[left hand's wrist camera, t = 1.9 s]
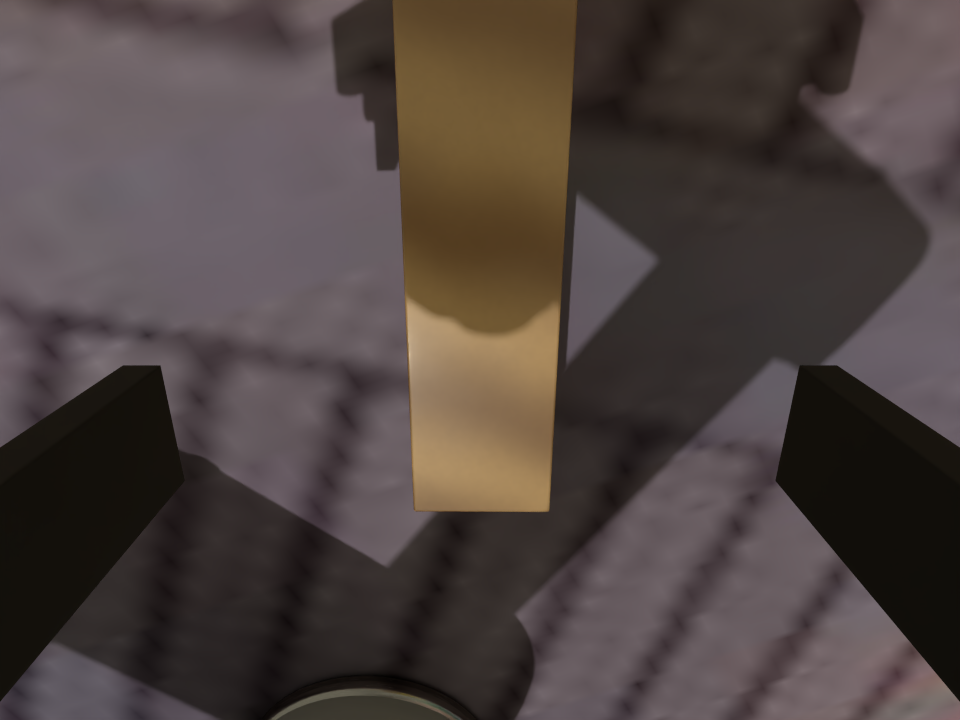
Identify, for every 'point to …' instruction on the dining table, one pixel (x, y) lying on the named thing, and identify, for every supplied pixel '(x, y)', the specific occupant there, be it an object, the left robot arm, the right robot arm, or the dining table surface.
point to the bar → (483, 242)
